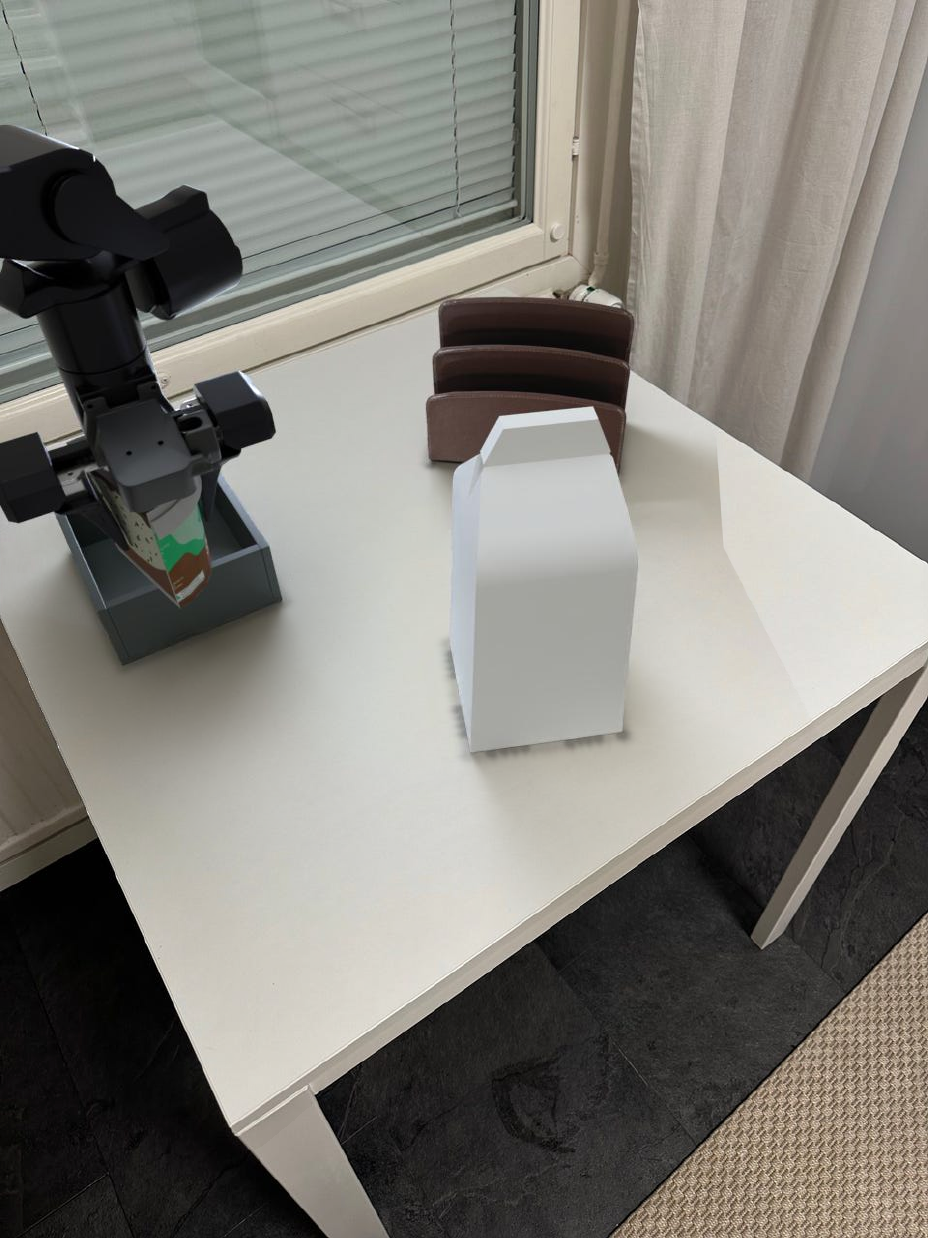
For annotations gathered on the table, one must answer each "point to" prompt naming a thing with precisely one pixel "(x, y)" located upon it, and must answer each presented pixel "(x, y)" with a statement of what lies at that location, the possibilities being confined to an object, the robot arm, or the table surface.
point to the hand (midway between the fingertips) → (166, 533)
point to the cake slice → (162, 539)
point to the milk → (541, 583)
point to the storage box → (143, 610)
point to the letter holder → (525, 368)
